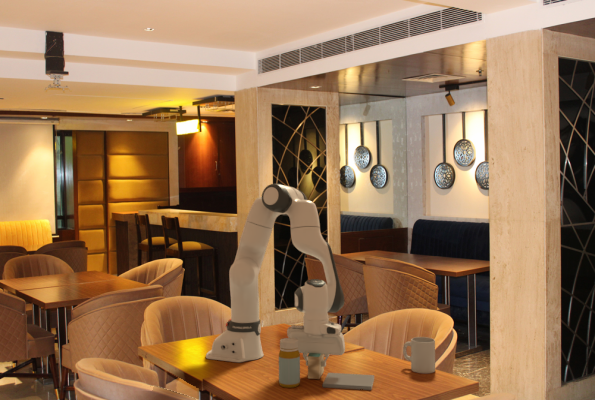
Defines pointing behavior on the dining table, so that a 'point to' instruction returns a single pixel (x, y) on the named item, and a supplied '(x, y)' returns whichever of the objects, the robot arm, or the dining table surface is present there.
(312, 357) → the block
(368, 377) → the board
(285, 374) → the bottle
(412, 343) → the mug
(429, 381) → the dining table surface
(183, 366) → the dining table surface
